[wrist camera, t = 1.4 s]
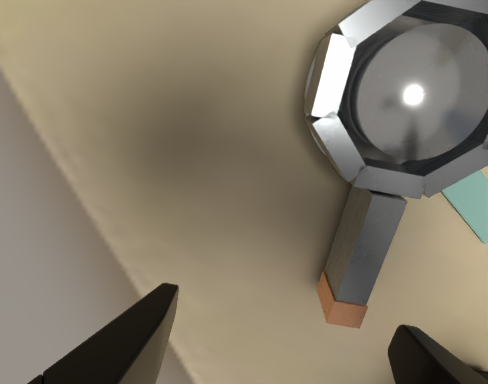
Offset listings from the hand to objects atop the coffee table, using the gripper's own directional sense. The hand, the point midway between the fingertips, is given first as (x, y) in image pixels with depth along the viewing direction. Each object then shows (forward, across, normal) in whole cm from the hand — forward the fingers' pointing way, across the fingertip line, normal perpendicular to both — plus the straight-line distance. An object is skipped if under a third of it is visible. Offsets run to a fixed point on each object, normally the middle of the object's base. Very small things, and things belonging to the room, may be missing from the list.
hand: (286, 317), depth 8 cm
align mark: (+12, -14, -1) cm, 18 cm away
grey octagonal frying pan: (+11, -6, -2) cm, 13 cm away
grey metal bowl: (+12, -6, -6) cm, 15 cm away
